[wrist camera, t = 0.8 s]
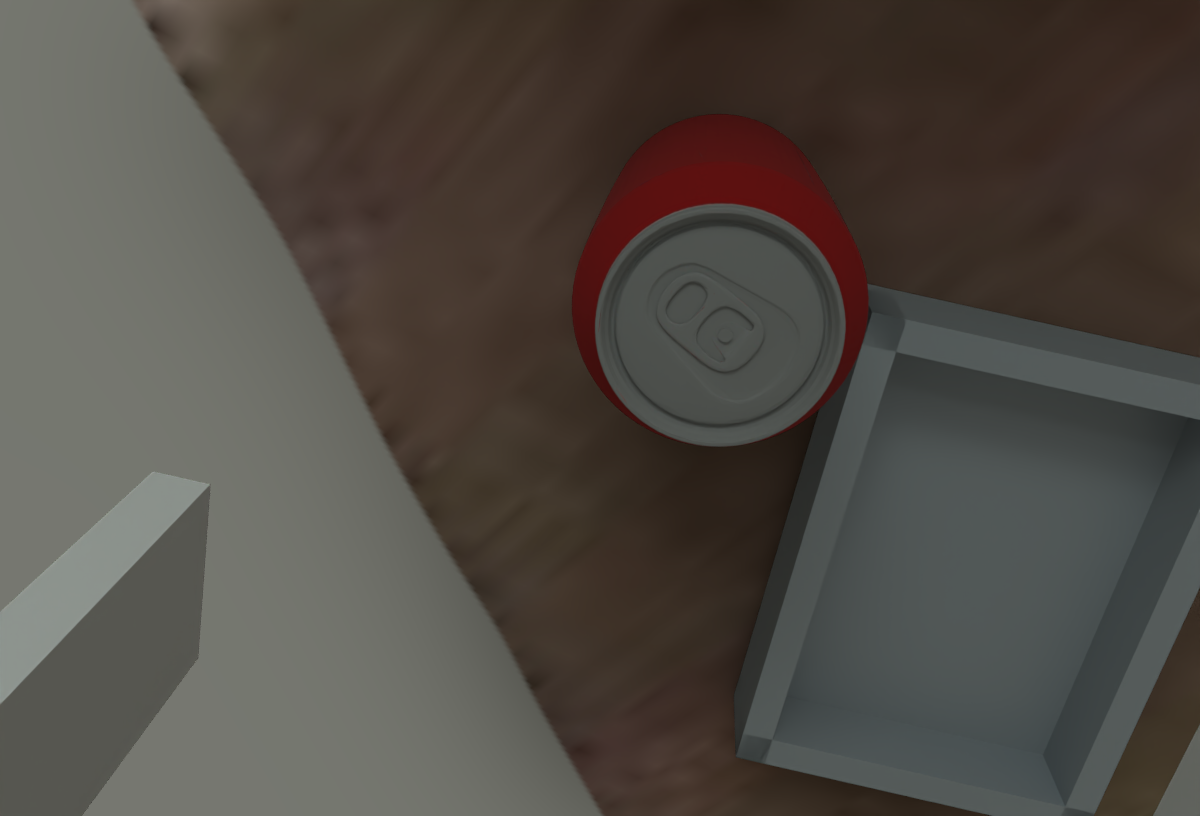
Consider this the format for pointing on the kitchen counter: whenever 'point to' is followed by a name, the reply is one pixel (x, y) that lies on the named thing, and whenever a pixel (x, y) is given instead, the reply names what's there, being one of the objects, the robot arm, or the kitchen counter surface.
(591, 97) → the kitchen counter surface
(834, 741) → the tray
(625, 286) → the beverage can
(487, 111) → the kitchen counter surface
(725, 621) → the kitchen counter surface
